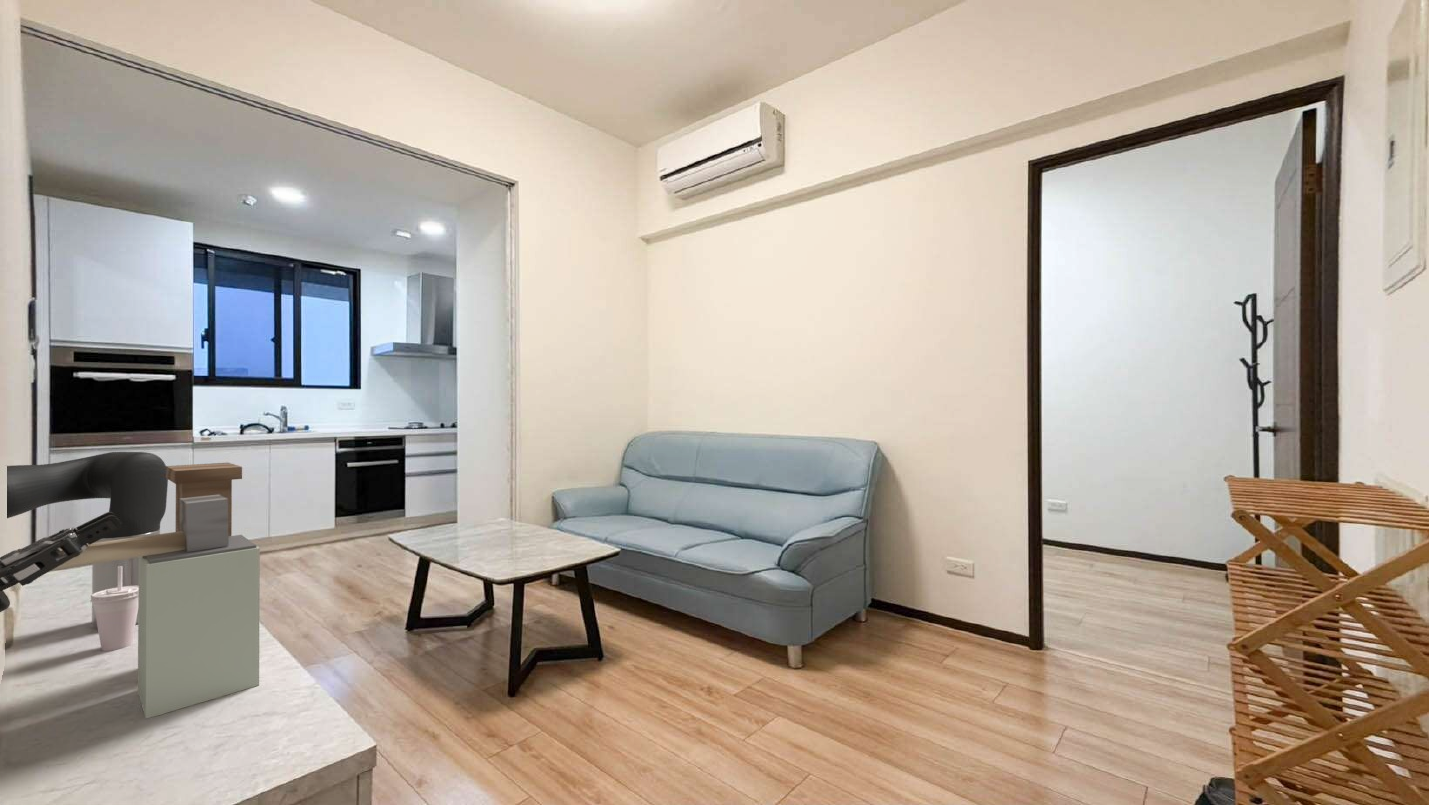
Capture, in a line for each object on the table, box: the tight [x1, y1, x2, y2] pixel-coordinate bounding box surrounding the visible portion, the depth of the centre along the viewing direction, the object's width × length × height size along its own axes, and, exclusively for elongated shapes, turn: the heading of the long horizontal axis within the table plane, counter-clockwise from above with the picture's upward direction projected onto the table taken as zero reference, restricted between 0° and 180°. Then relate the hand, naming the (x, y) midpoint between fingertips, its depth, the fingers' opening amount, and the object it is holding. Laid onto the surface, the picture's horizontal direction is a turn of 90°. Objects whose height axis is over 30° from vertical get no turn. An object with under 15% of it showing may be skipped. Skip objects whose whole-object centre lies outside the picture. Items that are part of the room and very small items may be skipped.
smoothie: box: [90, 566, 139, 652], centre depth 98 cm, size 6×6×14 cm
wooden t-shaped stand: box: [166, 462, 243, 536], centre depth 94 cm, size 12×8×32 cm, turn 49°
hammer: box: [50, 495, 229, 572], centre depth 79 cm, size 7×17×7 cm, turn 140°
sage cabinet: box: [137, 534, 261, 719], centre depth 84 cm, size 12×12×21 cm
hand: (116, 519), depth 77 cm, fingers open, 3 cm apart
